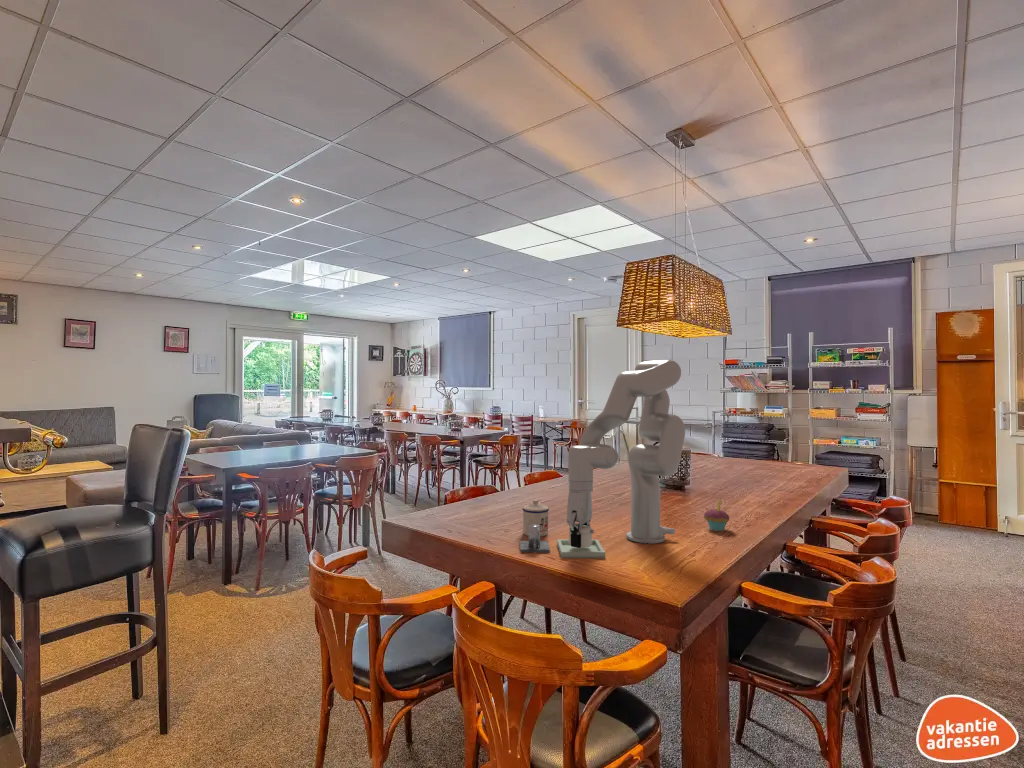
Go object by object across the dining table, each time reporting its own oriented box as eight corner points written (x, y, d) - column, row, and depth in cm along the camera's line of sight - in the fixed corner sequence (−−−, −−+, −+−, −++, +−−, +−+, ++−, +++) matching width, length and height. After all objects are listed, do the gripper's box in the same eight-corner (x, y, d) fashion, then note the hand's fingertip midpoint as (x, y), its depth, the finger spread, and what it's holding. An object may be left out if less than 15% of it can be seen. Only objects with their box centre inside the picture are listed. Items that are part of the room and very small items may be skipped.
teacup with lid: (542, 538, 171) (542, 503, 172) (518, 535, 176) (518, 501, 176) (555, 530, 182) (555, 497, 182) (532, 527, 186) (532, 494, 186)
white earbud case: (574, 540, 163) (574, 523, 163) (596, 543, 159) (597, 526, 159) (565, 545, 157) (565, 528, 157) (589, 549, 153) (589, 532, 153)
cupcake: (734, 531, 182) (734, 497, 182) (716, 533, 179) (716, 499, 179) (716, 525, 190) (716, 493, 190) (698, 527, 187) (698, 494, 187)
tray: (597, 545, 165) (597, 539, 165) (605, 558, 152) (605, 552, 152) (557, 545, 164) (557, 539, 164) (561, 558, 151) (561, 552, 151)
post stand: (547, 544, 165) (547, 522, 166) (549, 552, 156) (550, 529, 156) (519, 544, 165) (519, 522, 165) (520, 552, 156) (520, 529, 156)
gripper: (579, 480, 168) (579, 535, 167) (558, 489, 153) (557, 549, 152) (601, 482, 164) (601, 538, 164) (581, 491, 149) (581, 553, 149)
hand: (580, 543), depth 158 cm, fingers closed on white earbud case, 6 cm apart
